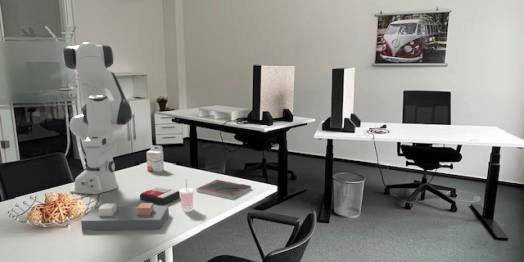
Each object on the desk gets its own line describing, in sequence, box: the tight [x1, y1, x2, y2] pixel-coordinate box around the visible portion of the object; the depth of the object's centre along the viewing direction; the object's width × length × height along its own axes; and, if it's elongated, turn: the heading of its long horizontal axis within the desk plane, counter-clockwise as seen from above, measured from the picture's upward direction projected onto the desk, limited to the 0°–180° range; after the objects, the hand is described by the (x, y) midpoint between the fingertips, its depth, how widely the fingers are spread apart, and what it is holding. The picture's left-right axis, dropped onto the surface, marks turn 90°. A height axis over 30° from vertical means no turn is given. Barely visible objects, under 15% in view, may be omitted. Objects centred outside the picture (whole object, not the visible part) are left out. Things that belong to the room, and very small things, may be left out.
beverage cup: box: [178, 178, 195, 213], centre depth 161 cm, size 6×6×14 cm
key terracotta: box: [137, 202, 154, 216], centre depth 149 cm, size 5×5×4 cm
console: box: [80, 205, 170, 232], centre depth 149 cm, size 30×14×4 cm, turn 91°
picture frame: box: [196, 179, 252, 200], centre depth 186 cm, size 16×2×22 cm
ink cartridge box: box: [146, 144, 165, 173], centre depth 219 cm, size 9×5×15 cm, turn 77°
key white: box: [99, 203, 117, 216], centre depth 149 cm, size 5×5×4 cm
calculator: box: [139, 186, 181, 206], centre depth 175 cm, size 11×4×15 cm
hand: (104, 172), depth 146 cm, fingers closed
